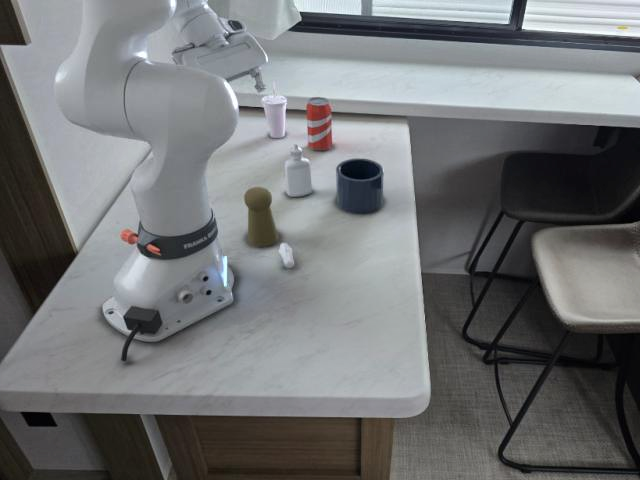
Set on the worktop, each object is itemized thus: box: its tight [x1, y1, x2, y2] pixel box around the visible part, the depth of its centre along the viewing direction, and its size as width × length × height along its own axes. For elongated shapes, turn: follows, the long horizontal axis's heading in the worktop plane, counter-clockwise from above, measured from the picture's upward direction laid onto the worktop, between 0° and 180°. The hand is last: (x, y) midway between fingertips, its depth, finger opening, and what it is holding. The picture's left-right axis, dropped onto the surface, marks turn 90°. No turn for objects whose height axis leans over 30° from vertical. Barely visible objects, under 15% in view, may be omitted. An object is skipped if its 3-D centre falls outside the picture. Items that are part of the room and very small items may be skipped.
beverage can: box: [305, 96, 333, 152], centre depth 140 cm, size 6×6×12 cm
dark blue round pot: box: [335, 157, 385, 215], centre depth 122 cm, size 10×10×8 cm
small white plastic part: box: [278, 242, 295, 269], centre depth 106 cm, size 4×6×3 cm, turn 175°
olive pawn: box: [243, 186, 279, 248], centre depth 109 cm, size 6×6×11 cm
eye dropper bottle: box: [283, 142, 313, 198], centre depth 122 cm, size 4×6×12 cm
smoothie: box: [261, 80, 288, 139], centre depth 143 cm, size 6×6×14 cm
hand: (247, 96), depth 119 cm, fingers open, 8 cm apart
